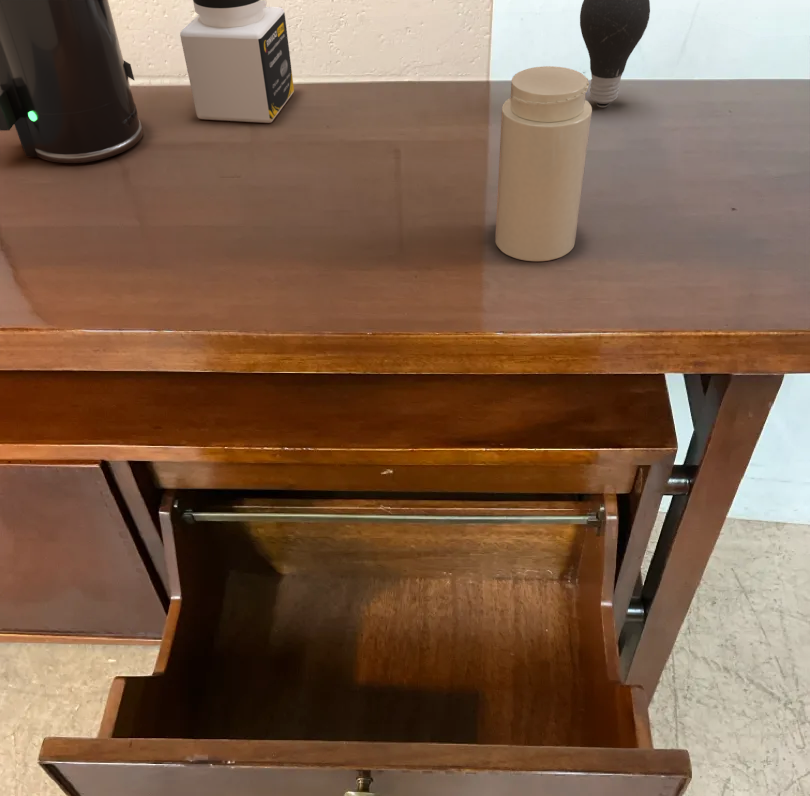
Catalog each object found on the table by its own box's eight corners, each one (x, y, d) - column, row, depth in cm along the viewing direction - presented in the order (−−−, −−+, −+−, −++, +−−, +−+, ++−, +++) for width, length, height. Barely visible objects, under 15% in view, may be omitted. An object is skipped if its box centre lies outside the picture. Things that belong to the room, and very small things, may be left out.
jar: (509, 267, 57) (520, 103, 49) (485, 227, 61) (491, 69, 53) (587, 254, 58) (610, 91, 50) (558, 216, 61) (575, 58, 53)
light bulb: (648, 107, 74) (671, -26, 66) (600, 124, 72) (619, -11, 64) (603, 88, 77) (621, -41, 69) (557, 103, 75) (569, -28, 67)
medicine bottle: (272, 124, 74) (249, -36, 65) (196, 120, 75) (163, -38, 66) (295, 92, 79) (276, -61, 70) (223, 89, 80) (196, -63, 71)
